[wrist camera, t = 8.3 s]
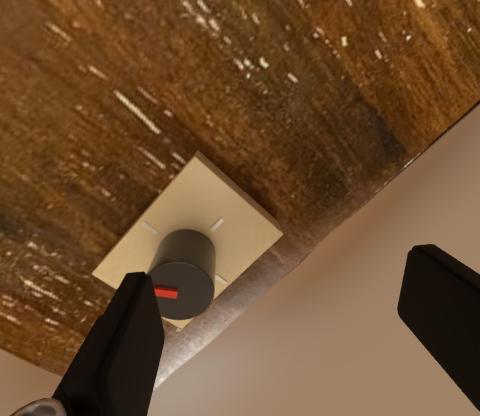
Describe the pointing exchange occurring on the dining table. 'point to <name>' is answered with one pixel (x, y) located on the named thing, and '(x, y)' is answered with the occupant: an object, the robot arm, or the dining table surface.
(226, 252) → the panel
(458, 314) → the robot arm
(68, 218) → the dining table surface
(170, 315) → the knob
